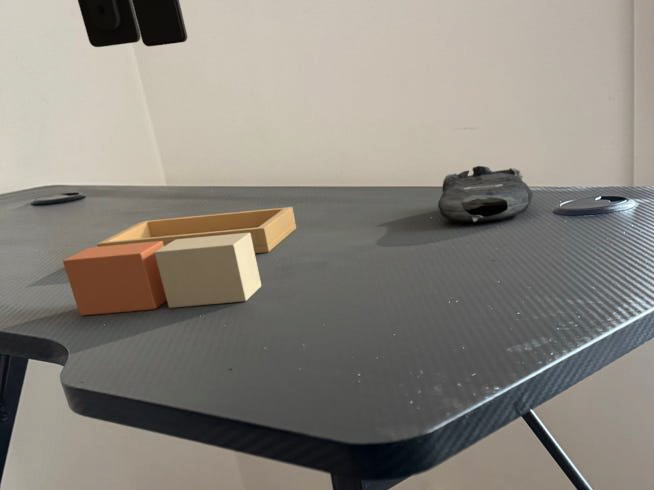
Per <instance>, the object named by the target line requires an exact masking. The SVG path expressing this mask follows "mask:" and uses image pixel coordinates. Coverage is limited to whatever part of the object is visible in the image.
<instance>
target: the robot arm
mask: <svg viewBox="0 0 654 490" xmlns="http://www.w3.org/2000/svg"><path fill="white" fill-rule="evenodd" d="M77 3H78V6H79V11H80V13H81V17H82V21H83V25H84V28H85V31H86V34H87V35H86V36H87V38H88V39H87V40H88V41H89V44H90V45H91V46H92V47H95V48H104V47H110V46H119V45H125V44H133V43H138V42H140V40H141V41H142V44H143V45H144V46H146V47H157V46H165V45H173V44H180V43H185V42H186V41H187V39H188V32H187V28H186V24H185V20H184V16H183V11H182V7H181V3H180V0H77Z"/></svg>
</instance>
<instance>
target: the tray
mask: <svg viewBox="0 0 654 490" xmlns="http://www.w3.org/2000/svg"><path fill="white" fill-rule="evenodd" d="M296 229H297V224H296V219H295V214H294V209H293V206H288V207H277V208H267V209H255V210H246V211H245V210H244V211H237V212H236V211H235V212H224V213H215V214H205V215H204V214H203V215H194V216H183V217H175V218H174V217H172V218H162V219H153V220H144V221H141V222H139V223H136V224H134V225H132V226H130V227H128V228H126V229H125V230H122V231H119V232H118V233H116V234H114V235H112V236H110V237H108V238H106V239H104V240H102V241H100V242H98V243H96V247H101V246H112V245H123V244H133V243H144V242H155V241H162V242H163V245H164V246H166V245H167V244H169V243H171V242H172V241H174V240H176V239H186V238H197V237H208V236H218V235H229V234H239V233H250V234H251V238H252V243H253V248H254V253H255V254H262V253H263V254H264V253H270V252H271V251H272V250H273V249H274V248H276V246H278V245H279V244H280V243H281V242H282V241H284V240H285V239H286V238H287V237H288V236H289V235H291V234H292V233H293V232H294V231H295V230H296Z"/></svg>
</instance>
